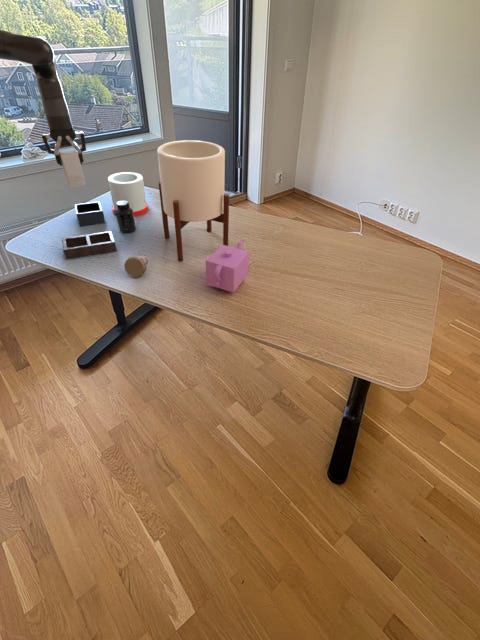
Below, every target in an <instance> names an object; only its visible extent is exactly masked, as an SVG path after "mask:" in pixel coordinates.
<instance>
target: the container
mask: <svg viewBox="0 0 480 640" xmlns="http://www.w3.org/2000/svg"><path fill="white" fill-rule="evenodd" d="M107 182H108V186H109V191H110V196H111V200H112V201H111V202H112V205H111V207H112V213H113V214H114V215H115V216H116V210H117V202H119V201H128V202H129V205H130V208H131V209H132V210H133V214H134V218H135V217H137V218H138V217H141V216H143V215H145V214H146V213H148V212H149V204H148V202H147V197H146V190H145V183H144V177H143V175H142V174H140V173H138V172H133V171H121V172H116V173H112V174H110V175H109V176H108V177H107Z"/></svg>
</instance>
